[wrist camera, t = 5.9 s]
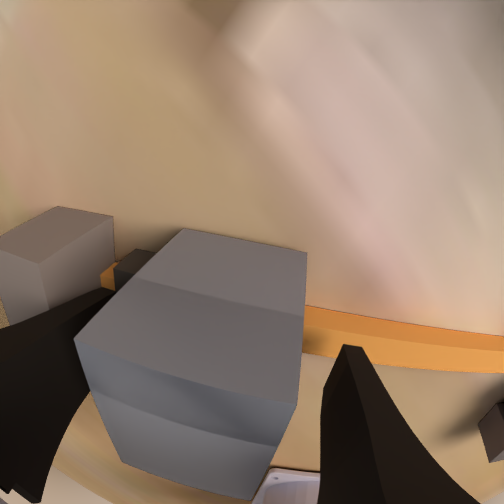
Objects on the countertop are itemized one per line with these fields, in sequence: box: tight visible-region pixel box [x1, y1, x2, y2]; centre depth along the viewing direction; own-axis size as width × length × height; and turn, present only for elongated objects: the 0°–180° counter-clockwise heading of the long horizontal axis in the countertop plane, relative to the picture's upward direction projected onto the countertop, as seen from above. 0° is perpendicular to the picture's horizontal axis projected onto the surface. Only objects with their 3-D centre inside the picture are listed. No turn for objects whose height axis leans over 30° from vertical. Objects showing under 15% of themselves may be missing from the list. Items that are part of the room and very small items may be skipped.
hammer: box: [0, 206, 504, 373], centre depth 9 cm, size 5×26×4 cm, turn 82°
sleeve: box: [74, 228, 307, 501], centre depth 8 cm, size 5×4×6 cm
